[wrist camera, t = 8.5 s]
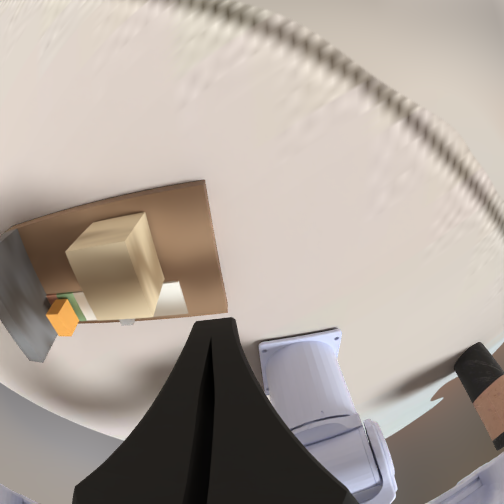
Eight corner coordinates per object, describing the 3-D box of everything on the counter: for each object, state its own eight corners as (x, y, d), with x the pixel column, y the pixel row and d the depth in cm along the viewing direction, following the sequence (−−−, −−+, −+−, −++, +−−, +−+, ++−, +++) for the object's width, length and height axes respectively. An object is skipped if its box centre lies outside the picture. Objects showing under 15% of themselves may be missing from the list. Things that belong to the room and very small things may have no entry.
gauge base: (227, 302, 22) (229, 363, 16) (54, 316, 21) (29, 360, 16) (204, 179, 17) (194, 215, 11) (12, 226, 16) (-30, 263, 11)
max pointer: (79, 320, 19) (71, 336, 18) (67, 320, 19) (59, 336, 18) (67, 298, 18) (57, 314, 17) (55, 299, 18) (45, 314, 17)
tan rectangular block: (174, 306, 20) (166, 346, 16) (127, 310, 19) (113, 348, 16) (145, 211, 16) (124, 241, 12) (92, 222, 16) (65, 251, 12)
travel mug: (466, 346, 32) (519, 433, 14) (488, 337, 33) (538, 413, 15) (446, 374, 35) (488, 457, 18) (469, 365, 36) (510, 438, 19)
